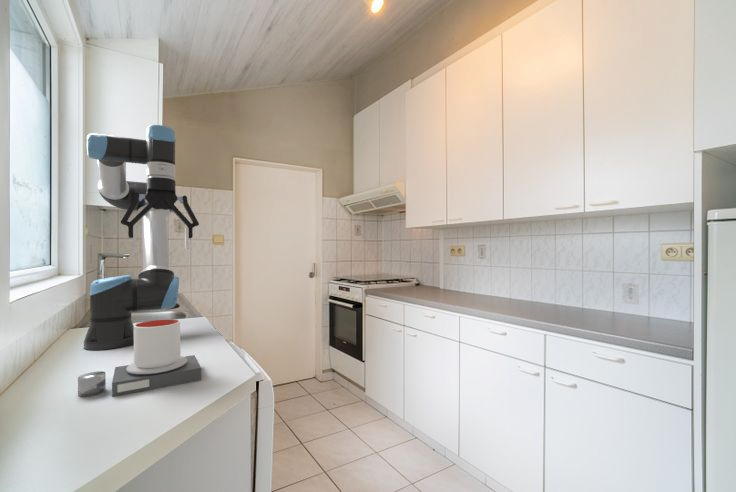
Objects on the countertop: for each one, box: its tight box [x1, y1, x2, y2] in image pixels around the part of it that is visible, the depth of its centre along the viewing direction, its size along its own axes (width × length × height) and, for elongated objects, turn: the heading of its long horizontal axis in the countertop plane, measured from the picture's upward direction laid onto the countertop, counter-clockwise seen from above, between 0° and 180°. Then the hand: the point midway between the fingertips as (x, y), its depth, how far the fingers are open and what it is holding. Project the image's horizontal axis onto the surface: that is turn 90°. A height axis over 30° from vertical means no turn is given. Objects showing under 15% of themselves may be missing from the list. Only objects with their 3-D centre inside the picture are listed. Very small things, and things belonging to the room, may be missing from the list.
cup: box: [133, 318, 181, 368], centre depth 90 cm, size 10×10×10 cm
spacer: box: [77, 370, 107, 398], centre depth 82 cm, size 5×5×4 cm
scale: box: [111, 355, 202, 397], centre depth 90 cm, size 13×18×4 cm
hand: (161, 249), depth 109 cm, fingers open, 13 cm apart
